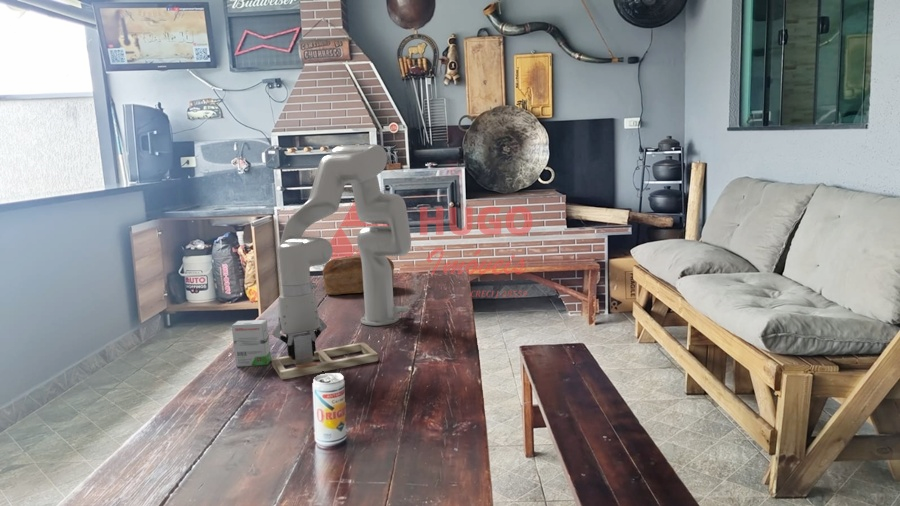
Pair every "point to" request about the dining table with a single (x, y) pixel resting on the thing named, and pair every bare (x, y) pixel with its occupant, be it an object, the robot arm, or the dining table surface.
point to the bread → (345, 275)
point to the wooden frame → (325, 360)
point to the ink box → (251, 343)
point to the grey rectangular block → (302, 348)
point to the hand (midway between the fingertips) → (302, 355)
